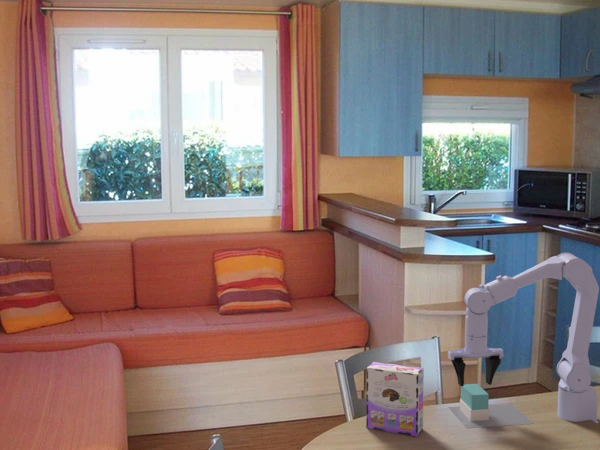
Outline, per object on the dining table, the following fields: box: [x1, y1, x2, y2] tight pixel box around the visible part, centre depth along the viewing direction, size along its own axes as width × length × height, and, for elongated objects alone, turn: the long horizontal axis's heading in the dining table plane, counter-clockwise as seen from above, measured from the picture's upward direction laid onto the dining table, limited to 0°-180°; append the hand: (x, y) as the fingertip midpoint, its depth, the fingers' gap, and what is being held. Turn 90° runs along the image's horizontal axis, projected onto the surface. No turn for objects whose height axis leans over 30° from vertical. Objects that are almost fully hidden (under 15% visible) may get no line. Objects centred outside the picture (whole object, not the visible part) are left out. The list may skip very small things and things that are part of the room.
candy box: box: [365, 361, 425, 437], centre depth 189 cm, size 14×6×16 cm, turn 65°
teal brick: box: [460, 383, 490, 410], centre depth 196 cm, size 4×8×4 cm, turn 8°
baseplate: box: [447, 398, 534, 429], centre depth 196 cm, size 18×14×4 cm
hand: (474, 384), depth 195 cm, fingers open, 7 cm apart
